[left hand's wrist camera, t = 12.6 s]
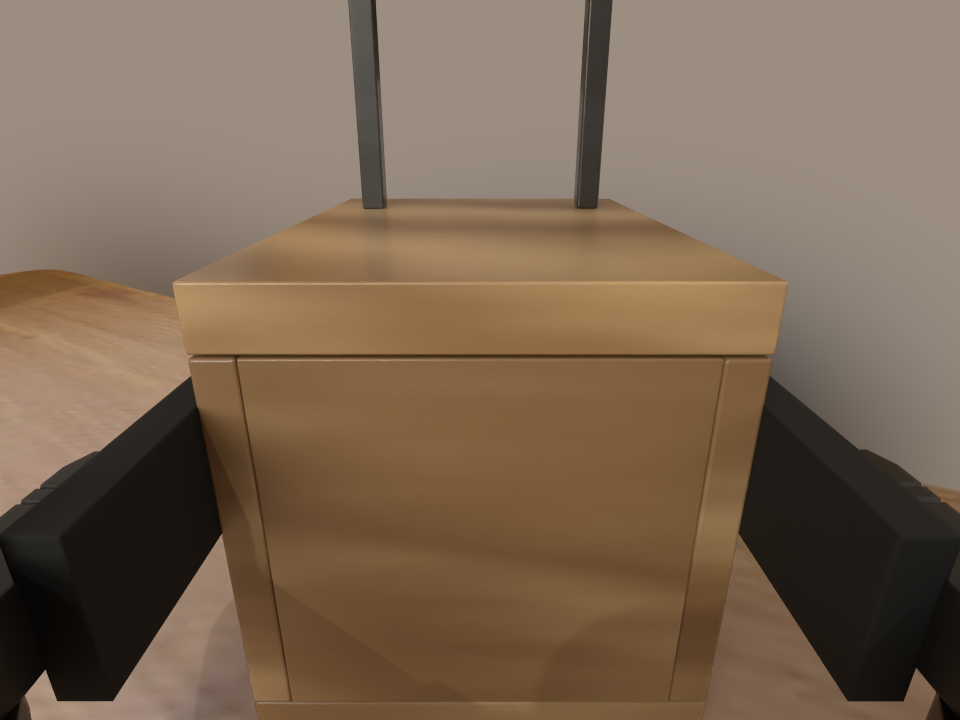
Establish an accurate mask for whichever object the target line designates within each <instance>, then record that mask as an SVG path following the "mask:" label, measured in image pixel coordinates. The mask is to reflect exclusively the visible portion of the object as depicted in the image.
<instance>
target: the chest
mask: <svg viewBox="0 0 960 720" xmlns="http://www.w3.org/2000/svg"><path fill="white" fill-rule="evenodd" d="M188 363H189V368H190V373H191V378H192V383H193V389H194V394H195V399H196V404H197V408H198V413H199V419H200V424H201V429H202V434H203V439H204V444H205V449H206V454H207V459H208V465H209V470H210V475H211V480H212V485H213V490H214V495H215V500H216V506H217V511H218V516H219V521H220V526H221V531H222V537H223V542H224V547H225V552H226V558H227V563H228V568H229V573H230V578H231V583H232V588H233V593H234V598H235V604H236V609H237V614H238V619H239V624H240V629H241V634H242V639H243V645H244V650H245V655H246V660H247V665H248V670H249V675H250V680H251V686H252V691H253V696H254V700H256V701H255V705H256V710H257V715H258V720H702V717H703V712H704V707H705V701H704V700H706V697H707V692H708V687H709V682H710V676H711V671H712V666H713V661H714V656H715V651H716V646H717V641H718V636H719V631H720V626H721V620H722V615H723V610H724V605H725V600H726V595H727V590H728V585H729V580H730V575H731V570H732V564H733V559H734V554H735V549H736V544H737V539H738V534H739V529H740V524H741V519H742V514H743V508H744V503H745V498H746V493H747V488H748V483H749V478H750V473H751V468H752V463H753V458H754V452H755V447H756V442H757V437H758V432H759V427H760V422H761V417H762V412H763V407H764V402H765V396H766V391H767V386H768V381H769V376H770V371H771V366H772V360H771V358H770V357H768V356H767V355H193V356H192V357H190V358H189V362H188Z"/></svg>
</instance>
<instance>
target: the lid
mask: <svg viewBox="0 0 960 720" xmlns="http://www.w3.org/2000/svg"><path fill="white" fill-rule="evenodd" d="M348 3H349V17H350V31H351V45H352V59H353V74H354V88H355V101H356V115H357V130H358V144H359V158H360V172H361V186H362V199H350V200H348V201H346V202H344V203H341V204H339V205H337V206H335V207H333V208H331V209H329V210H326V211H324V212H322V213H320V214H318V215H316V216H314V217H312V218H309V219H307V220H305V221H303V222H301V223H299V224H296V225H294V226H292V227H290V228H288V229H286V230H283V231H281V232H279V233H277V234H275V235H273V236H271V237H269V238H266V239H264V240H262V241H260V242H258V243H256V244H253V245H251V246H249V247H247V248H245V249H243V250H241V251H238V252H236V253H234V254H232V255H230V256H228V257H225V258H223V259H221V260H219V261H217V262H215V263H213V264H210V265H208V266H206V267H204V268H202V269H200V270H198V271H195V272H193V273H191V274H189V275H187V276H185V277H183V278H180V279H178V280H176V281H174V282H173V289H174V294H175V299H176V304H177V309H178V314H179V319H180V324H181V330H182V335H183V340H184V345H185V350H186V353H187V354H189V355H773V354H774V353H775V350H776V345H777V339H778V334H779V329H780V324H781V319H782V314H783V309H784V304H785V299H786V294H787V289H788V282H786V281H784V280H782V279H780V278H778V277H776V276H774V275H771V274H769V273H767V272H765V271H763V270H761V269H758V268H756V267H754V266H752V265H750V264H748V263H746V262H743V261H741V260H739V259H737V258H735V257H733V256H731V255H728V254H726V253H724V252H722V251H720V250H718V249H716V248H713V247H711V246H709V245H707V244H705V243H703V242H701V241H698V240H696V239H694V238H692V237H690V236H688V235H686V234H683V233H681V232H679V231H677V230H675V229H673V228H671V227H668V226H666V225H664V224H662V223H660V222H658V221H655V220H653V219H651V218H649V217H647V216H645V215H643V214H640V213H638V212H636V211H634V210H632V209H630V208H628V207H625V206H623V205H621V204H619V203H617V202H615V201H613V200H610V199H598V194H599V180H600V166H601V152H602V138H603V125H604V111H605V97H606V83H607V69H608V55H609V41H610V27H611V13H612V0H586V2H585V19H584V37H583V54H582V72H581V90H580V107H579V125H578V142H577V159H576V177H575V194H574V199H387V196H386V178H385V160H384V143H383V125H382V106H381V89H380V71H379V53H378V35H377V17H376V0H348Z"/></svg>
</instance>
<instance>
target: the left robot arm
mask: <svg viewBox="0 0 960 720" xmlns="http://www.w3.org/2000/svg"><path fill="white" fill-rule="evenodd" d="M221 534H222V531H221V526H220V521H219V516H218V511H217V506H216V500H215V495H214V490H213V485H212V480H211V475H210V470H209V465H208V459H207V454H206V449H205V444H204V439H203V434H202V429H201V424H200V419H199V413H198V408H197V404H196V399H195V394H194V389H193V383H192V378H191V376H190V377H189V378H188V379H187V380H186V381H184V382H183V383H182V384H181V385H180V386H178V387H177V388H176V389H175V390H173V391H172V392H171V393H170V394H169V395H167V396H166V397H165V398H164V399H163V400H161V401H160V402H159V403H158V404H157V405H155V406H154V407H153V408H152V409H151V410H149V411H148V412H147V413H146V414H144V415H143V416H142V417H141V418H140V419H138V420H137V421H136V422H135V423H134V424H132V425H131V426H130V427H129V428H128V429H126V430H125V431H124V432H123V433H122V434H120V435H119V436H118V437H117V438H115V439H114V440H113V441H112V442H111V443H109V444H108V445H107V446H106V447H105V448H103V449H102V450H101V451H100V452H93V453H91V454H89V455H87V456H85V457H83V458H81V459H79V460H77V461H75V462H73V463H71V464H69V465H67V466H65V467H63V468H62V469H60V470H59V471H58V472H57V473H55V474H54V475H53V476H52V477H50V478H49V479H48V480H46V481H45V482H44V483H43V484H41V487H40V489H35V490H34V491H33V492H31V493H30V494H29V495H28V496H26V497H25V498H24V499H23V500H21V504H20V505H15V506H14V507H12V508H11V509H10V510H9V511H7V512H6V513H5V514H4V515H2V516H1V517H0V720H31V714H30V708H29V705H28V702H27V700H26V697H25V694H26V693H27V692H28V690H29V689H30V688H31V687H32V685H33V684H34V683H35V682H36V681H37V679H38V678H39V677H40V676H41V674H42V673H43V672H44V671H45V669H46V672H47V675H48V677H49V680H50V683H51V685H52V688H53V691H54V693H55V696H56V699H57V701H113V700H114V699H115V697H116V696H117V694H118V692H119V691H120V689H121V688H122V686H123V685H124V683H125V682H126V680H127V679H128V677H129V676H130V674H131V673H132V671H133V669H134V668H135V666H136V665H137V663H138V662H139V660H140V659H141V657H142V656H143V654H144V653H145V651H146V649H147V648H148V646H149V645H150V643H151V642H152V640H153V639H154V637H155V636H156V634H157V633H158V631H159V629H160V628H161V626H162V625H163V623H164V622H165V620H166V619H167V617H168V616H169V614H170V613H171V611H172V609H173V608H174V606H175V605H176V603H177V602H178V600H179V599H180V597H181V596H182V594H183V593H184V591H185V589H186V588H187V586H188V585H189V583H190V582H191V580H192V579H193V577H194V576H195V574H196V573H197V571H198V569H199V568H200V566H201V565H202V563H203V562H204V560H205V559H206V557H207V556H208V554H209V553H210V551H211V549H212V548H213V546H214V545H215V543H216V542H217V540H218V539H219V537H220V536H221ZM739 535H740V536H741V538H742V539H743V541H744V542H745V544H746V545H747V547H748V548H749V550H750V552H751V553H752V555H753V556H754V558H755V559H756V561H757V562H758V564H759V565H760V567H761V568H762V570H763V572H764V573H765V575H766V576H767V578H768V579H769V581H770V582H771V584H772V585H773V587H774V588H775V590H776V592H777V593H778V595H779V596H780V598H781V599H782V601H783V602H784V604H785V605H786V607H787V608H788V610H789V612H790V613H791V615H792V616H793V618H794V619H795V621H796V622H797V624H798V625H799V627H800V628H801V630H802V631H803V633H804V635H805V636H806V638H807V639H808V641H809V642H810V644H811V645H812V647H813V648H814V650H815V651H816V653H817V655H818V656H819V658H820V659H821V661H822V662H823V664H824V665H825V667H826V668H827V670H828V671H829V673H830V675H831V676H832V678H833V679H834V681H835V682H836V684H837V685H838V687H839V688H840V690H841V691H842V693H843V695H844V696H845V698H846V699H847V701H904V699H905V696H906V693H907V690H908V688H909V685H910V682H911V680H912V677H913V674H914V672H915V669H916V668H917V669H918V670H919V671H920V673H921V674H922V675H923V676H924V678H925V679H926V680H927V681H928V682H929V684H930V685H931V686H932V687H933V688H934V690H935V691H936V695H935V697H934V700H933V702H932V705H931V707H930V710H929V712H928V715H927V718H926V720H960V513H958V512H957V511H956V510H955V509H953V508H952V507H951V506H949V505H948V504H947V503H946V502H941V501H940V498H939V497H938V496H937V495H935V494H934V493H933V492H932V491H930V490H929V489H928V488H927V487H921V483H920V482H919V481H918V480H916V479H915V478H914V477H913V476H911V475H910V474H909V473H907V472H906V471H905V470H904V469H902V468H901V467H900V466H899V465H897V464H895V463H893V462H891V461H889V460H887V459H885V458H883V457H881V456H879V455H877V454H875V453H873V452H871V451H869V450H859V449H857V448H856V447H855V446H854V445H853V444H851V443H850V442H849V441H848V440H846V439H845V438H844V437H843V436H842V435H840V434H839V433H838V432H837V431H836V430H834V429H833V428H832V427H831V426H830V425H828V424H827V423H826V422H825V421H824V420H822V419H821V418H820V417H819V416H817V415H816V414H815V413H814V412H813V411H811V410H810V409H809V408H808V407H807V406H805V405H804V404H803V403H802V402H801V401H799V400H798V399H797V398H796V397H794V396H793V395H792V394H791V393H790V392H788V391H787V390H786V389H785V388H784V387H782V386H781V385H780V384H779V383H778V382H776V381H775V380H774V379H773V378H772V377H770V376H769V381H768V386H767V391H766V396H765V402H764V407H763V412H762V417H761V422H760V427H759V432H758V437H757V442H756V447H755V452H754V458H753V463H752V468H751V473H750V478H749V483H748V488H747V493H746V498H745V503H744V508H743V514H742V519H741V524H740V529H739Z"/></svg>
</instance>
